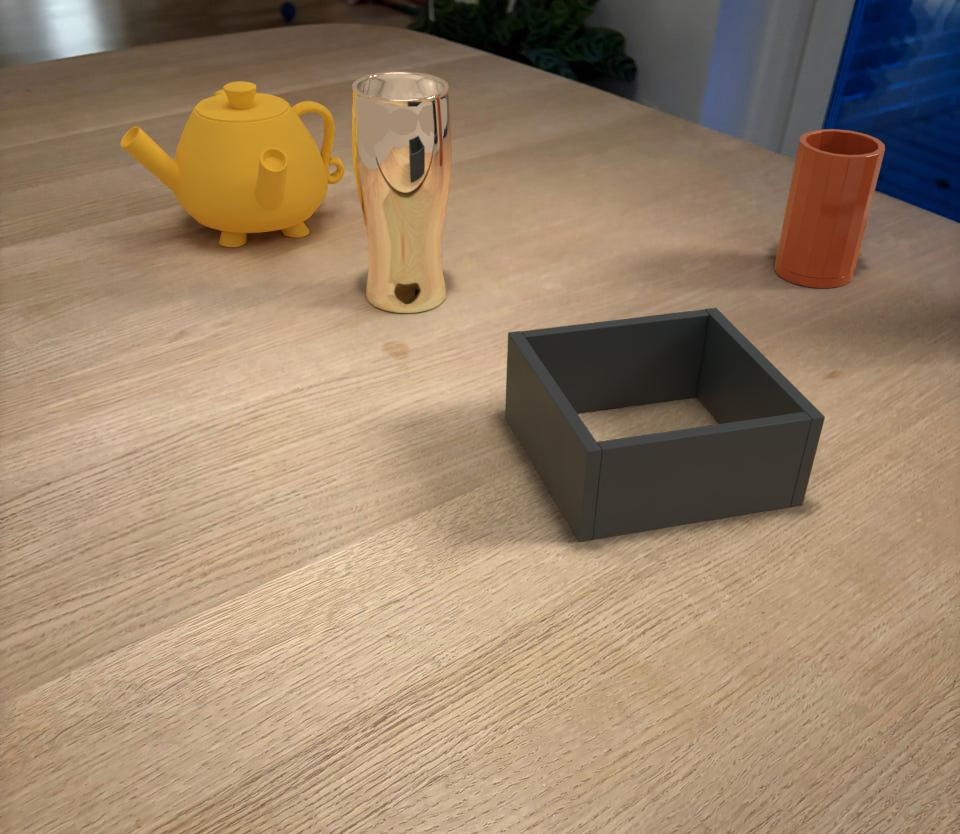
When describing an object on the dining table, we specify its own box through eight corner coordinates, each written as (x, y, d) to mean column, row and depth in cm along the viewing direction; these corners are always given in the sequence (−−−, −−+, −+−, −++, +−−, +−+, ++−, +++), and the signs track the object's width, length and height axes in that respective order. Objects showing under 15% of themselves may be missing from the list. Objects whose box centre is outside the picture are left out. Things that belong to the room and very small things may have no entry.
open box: (700, 403, 74) (716, 307, 70) (799, 520, 65) (825, 416, 60) (504, 431, 71) (507, 332, 67) (577, 557, 62) (587, 451, 57)
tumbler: (835, 254, 93) (865, 128, 86) (865, 286, 88) (898, 155, 82) (763, 257, 92) (787, 130, 86) (789, 290, 88) (817, 158, 81)
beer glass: (374, 272, 89) (365, 66, 79) (460, 281, 88) (461, 74, 78) (349, 311, 84) (335, 96, 74) (440, 321, 83) (438, 104, 73)
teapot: (133, 243, 92) (106, 98, 85) (219, 187, 102) (201, 53, 94) (289, 273, 89) (275, 125, 81) (363, 212, 98) (357, 75, 91)
